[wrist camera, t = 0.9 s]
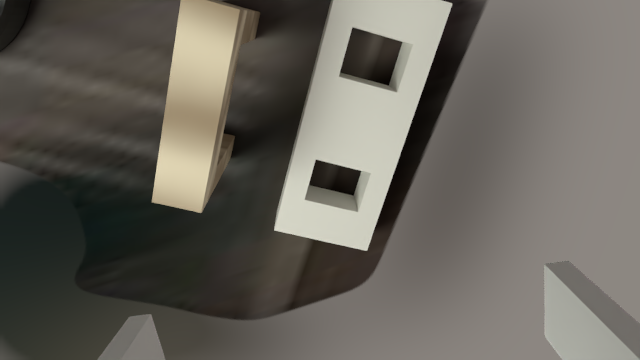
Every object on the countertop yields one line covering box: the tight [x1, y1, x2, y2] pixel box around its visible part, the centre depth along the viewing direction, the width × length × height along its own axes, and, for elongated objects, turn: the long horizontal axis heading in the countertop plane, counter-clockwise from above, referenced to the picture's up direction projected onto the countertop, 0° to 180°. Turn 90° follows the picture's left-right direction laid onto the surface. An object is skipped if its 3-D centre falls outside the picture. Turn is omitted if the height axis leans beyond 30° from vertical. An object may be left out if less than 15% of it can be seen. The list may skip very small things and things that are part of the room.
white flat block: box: [274, 0, 452, 251], centre depth 34 cm, size 20×8×4 cm, turn 165°
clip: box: [152, 0, 260, 213], centre depth 29 cm, size 12×3×11 cm, turn 165°
